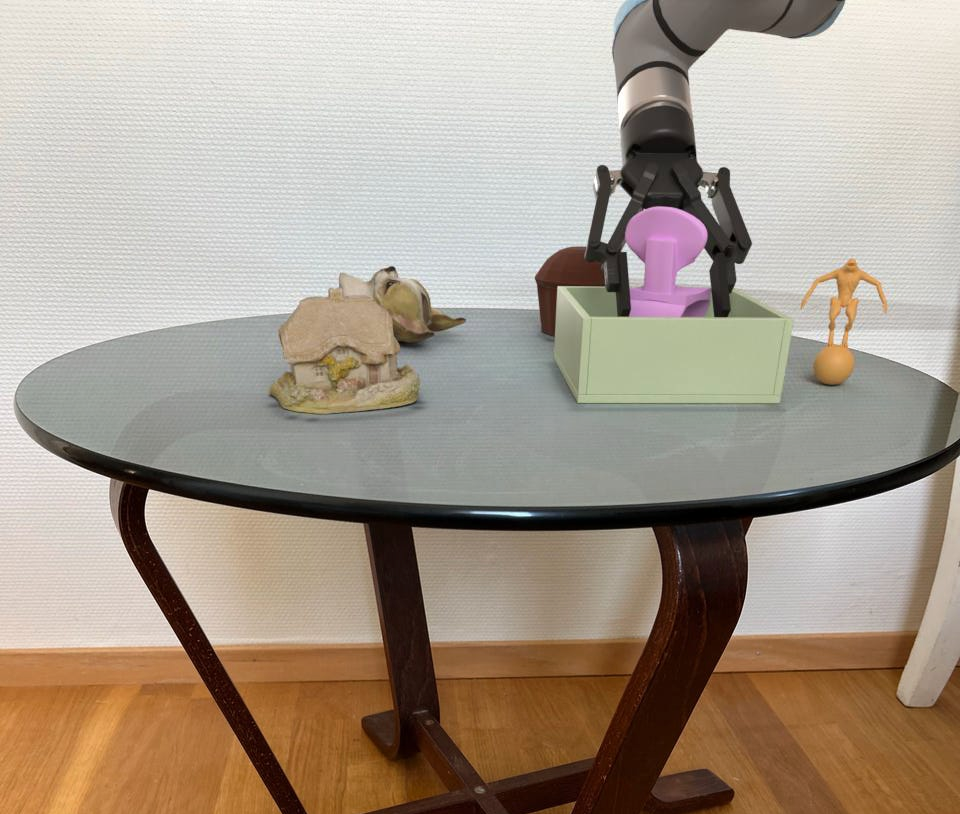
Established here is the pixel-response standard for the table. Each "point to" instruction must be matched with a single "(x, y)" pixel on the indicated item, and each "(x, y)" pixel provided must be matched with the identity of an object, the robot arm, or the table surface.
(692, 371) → the bin
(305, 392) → the ceramic model
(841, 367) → the figurine
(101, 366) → the table surface
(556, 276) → the muffin
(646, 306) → the toy chair
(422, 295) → the ceramic sculpture
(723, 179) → the robot arm
